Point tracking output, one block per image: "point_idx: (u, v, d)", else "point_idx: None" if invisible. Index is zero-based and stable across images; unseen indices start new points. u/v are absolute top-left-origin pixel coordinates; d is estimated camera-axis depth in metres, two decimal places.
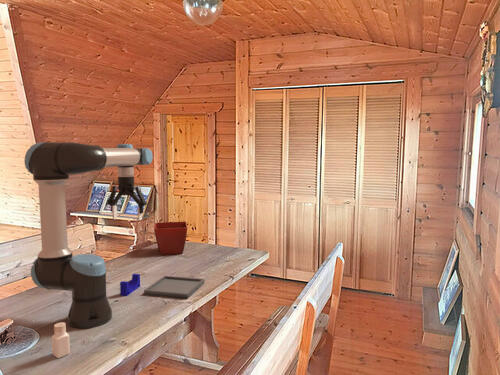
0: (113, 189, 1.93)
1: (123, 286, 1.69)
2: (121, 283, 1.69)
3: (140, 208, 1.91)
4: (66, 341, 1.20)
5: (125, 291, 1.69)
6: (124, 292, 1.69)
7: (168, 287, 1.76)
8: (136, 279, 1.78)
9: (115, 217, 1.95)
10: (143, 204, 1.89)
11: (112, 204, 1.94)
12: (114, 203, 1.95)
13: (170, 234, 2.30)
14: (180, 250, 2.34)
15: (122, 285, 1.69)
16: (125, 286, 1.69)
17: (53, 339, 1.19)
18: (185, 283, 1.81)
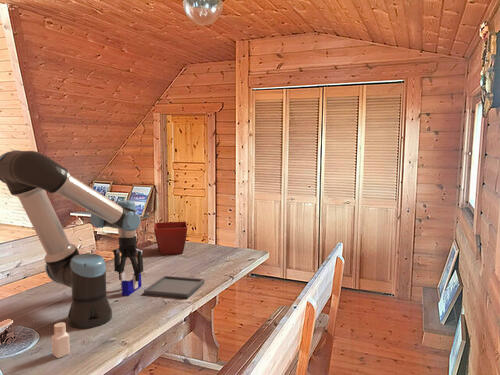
0: (115, 253, 1.74)
1: (124, 285, 1.69)
2: (123, 282, 1.69)
3: (136, 275, 1.73)
4: (66, 341, 1.20)
5: (127, 290, 1.69)
6: (125, 292, 1.69)
7: (168, 287, 1.76)
8: None
9: None
10: (139, 272, 1.72)
11: (120, 271, 1.74)
12: (122, 269, 1.76)
13: (170, 234, 2.30)
14: (180, 250, 2.34)
15: (124, 284, 1.69)
16: (127, 285, 1.69)
17: (53, 339, 1.19)
18: (185, 283, 1.81)
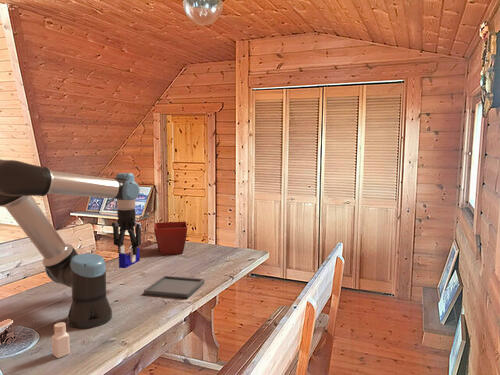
0: (113, 226, 1.72)
1: (121, 258, 1.68)
2: (120, 255, 1.68)
3: (133, 249, 1.72)
4: (66, 341, 1.20)
5: (124, 263, 1.68)
6: (122, 264, 1.68)
7: (168, 287, 1.76)
8: None
9: None
10: (137, 245, 1.70)
11: (119, 244, 1.73)
12: (121, 243, 1.75)
13: (170, 234, 2.30)
14: (180, 250, 2.34)
15: (121, 257, 1.68)
16: (124, 258, 1.68)
17: (53, 339, 1.19)
18: (185, 283, 1.81)
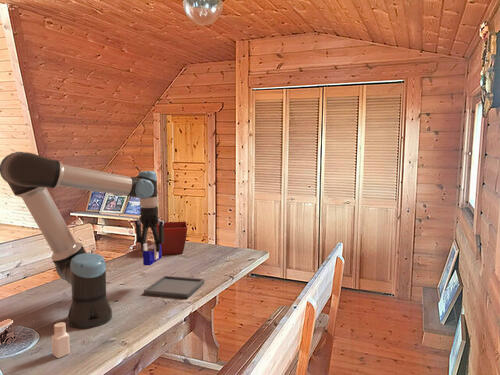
0: (136, 224, 1.74)
1: (145, 255, 1.69)
2: (144, 252, 1.69)
3: (157, 246, 1.73)
4: (66, 341, 1.20)
5: (148, 260, 1.69)
6: (147, 261, 1.70)
7: (168, 287, 1.76)
8: None
9: None
10: (160, 242, 1.72)
11: (142, 242, 1.74)
12: (144, 240, 1.76)
13: (170, 234, 2.30)
14: (180, 250, 2.34)
15: (145, 254, 1.69)
16: (148, 255, 1.69)
17: (53, 339, 1.19)
18: (185, 283, 1.81)
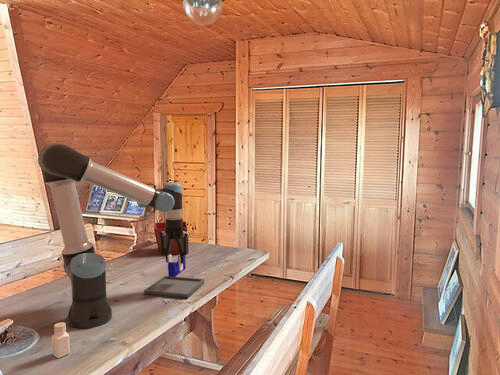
0: (161, 235, 1.75)
1: (171, 267, 1.71)
2: (169, 264, 1.71)
3: (181, 258, 1.75)
4: (66, 341, 1.20)
5: (173, 272, 1.71)
6: (171, 273, 1.71)
7: (168, 287, 1.76)
8: None
9: None
10: (185, 254, 1.73)
11: (167, 253, 1.76)
12: None
13: None
14: None
15: (170, 266, 1.71)
16: (173, 267, 1.70)
17: (53, 339, 1.19)
18: (185, 283, 1.81)
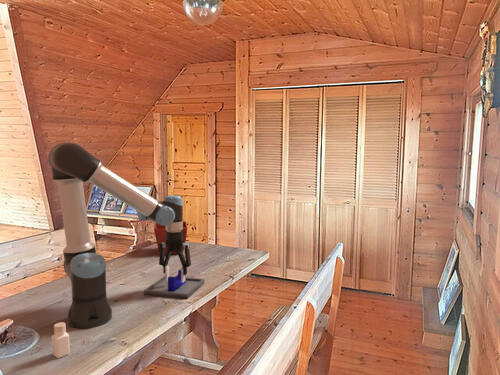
0: (161, 247, 1.76)
1: (170, 281, 1.71)
2: (169, 278, 1.71)
3: (184, 269, 1.75)
4: (66, 341, 1.20)
5: (173, 286, 1.71)
6: (171, 288, 1.71)
7: None
8: None
9: None
10: (187, 265, 1.73)
11: (165, 264, 1.76)
12: (166, 263, 1.78)
13: None
14: None
15: (170, 280, 1.71)
16: (173, 281, 1.71)
17: (53, 339, 1.19)
18: (185, 283, 1.81)
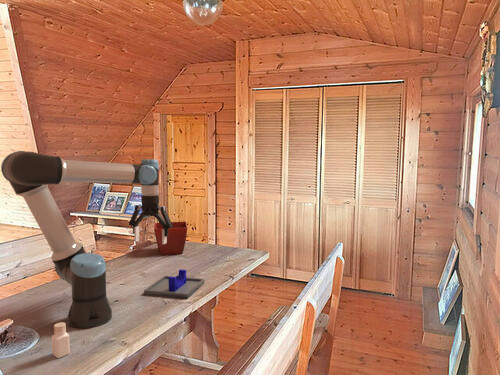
0: (136, 209, 1.74)
1: (171, 281, 1.71)
2: (169, 278, 1.71)
3: (165, 230, 1.72)
4: (66, 341, 1.20)
5: (173, 286, 1.71)
6: (172, 288, 1.71)
7: (168, 287, 1.76)
8: (183, 275, 1.81)
9: (137, 239, 1.77)
10: (168, 226, 1.70)
11: (134, 225, 1.75)
12: None
13: (170, 234, 2.30)
14: (180, 250, 2.34)
15: (170, 280, 1.71)
16: (173, 281, 1.71)
17: (53, 339, 1.19)
18: (185, 283, 1.81)
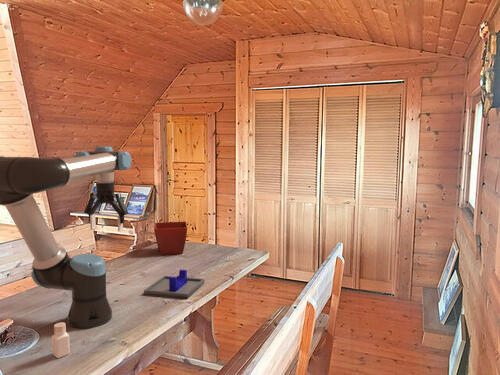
0: (91, 196, 1.74)
1: (172, 281, 1.71)
2: (170, 278, 1.71)
3: (121, 217, 1.72)
4: (66, 341, 1.20)
5: (174, 286, 1.71)
6: (172, 288, 1.71)
7: (168, 287, 1.76)
8: (183, 275, 1.80)
9: (93, 227, 1.76)
10: (124, 213, 1.71)
11: (90, 213, 1.75)
12: (92, 212, 1.77)
13: (170, 234, 2.30)
14: (180, 250, 2.34)
15: (171, 280, 1.71)
16: (174, 281, 1.71)
17: (53, 339, 1.19)
18: None
